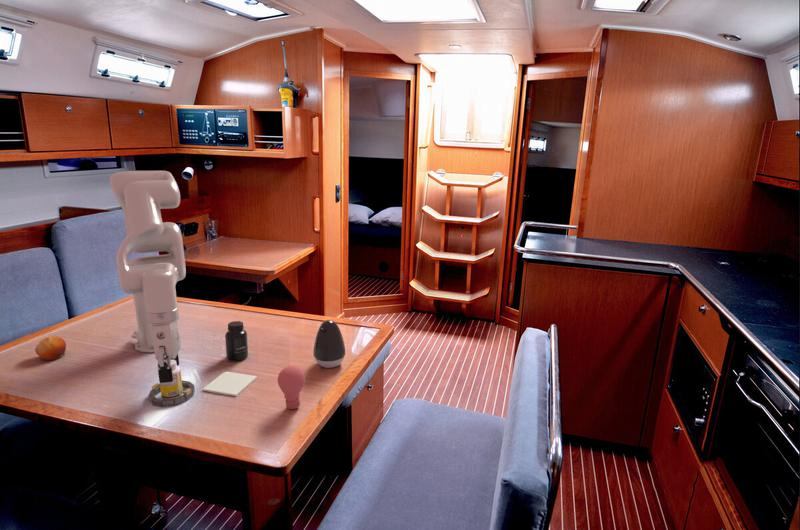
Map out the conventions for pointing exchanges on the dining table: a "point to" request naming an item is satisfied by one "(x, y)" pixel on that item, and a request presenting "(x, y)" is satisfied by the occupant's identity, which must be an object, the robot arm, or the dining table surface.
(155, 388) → the collar
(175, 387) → the supplement bottle
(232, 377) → the coaster
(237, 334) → the supplement bottle
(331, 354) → the pump dispenser
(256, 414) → the dining table surface
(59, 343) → the fruit
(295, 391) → the light bulb
